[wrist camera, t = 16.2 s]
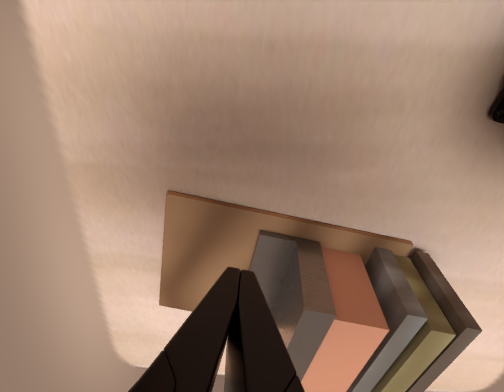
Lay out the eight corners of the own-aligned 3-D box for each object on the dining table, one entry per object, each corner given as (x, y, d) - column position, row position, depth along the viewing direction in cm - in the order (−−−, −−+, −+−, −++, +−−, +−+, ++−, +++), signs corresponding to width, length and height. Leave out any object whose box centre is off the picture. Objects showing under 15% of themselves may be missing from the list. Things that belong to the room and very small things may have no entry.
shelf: (428, 244, 24) (487, 325, 17) (365, 340, 30) (391, 425, 24) (168, 190, 23) (126, 254, 16) (160, 301, 29) (128, 378, 23)
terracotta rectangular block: (360, 254, 24) (389, 330, 18) (324, 322, 28) (338, 401, 22) (317, 246, 24) (333, 319, 18) (289, 316, 28) (293, 393, 22)
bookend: (320, 242, 24) (336, 315, 17) (287, 320, 28) (291, 398, 22) (260, 229, 23) (255, 299, 17) (238, 310, 28) (228, 387, 22)
